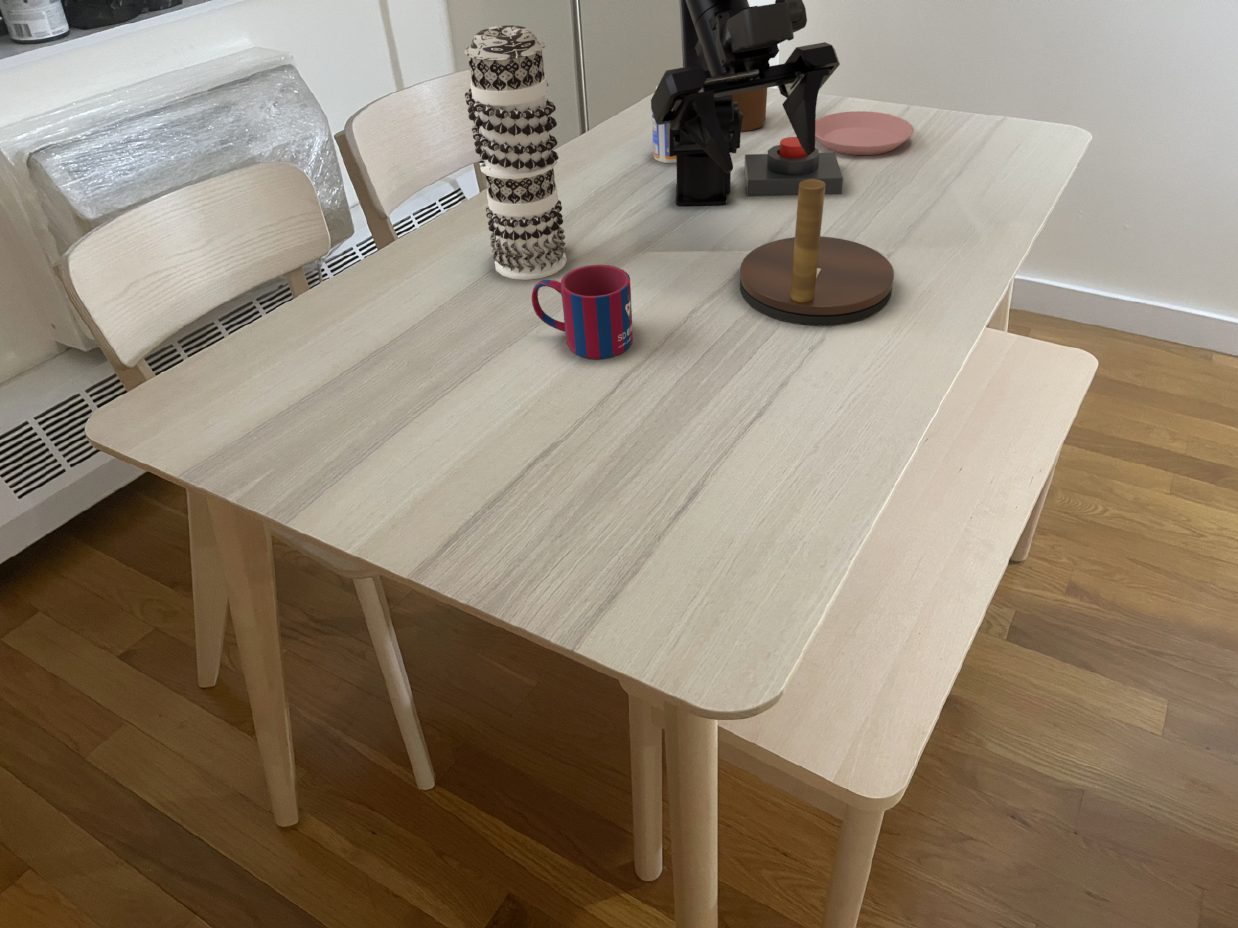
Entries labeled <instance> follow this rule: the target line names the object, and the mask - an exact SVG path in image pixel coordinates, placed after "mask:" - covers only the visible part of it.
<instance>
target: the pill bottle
mask: <svg viewBox="0 0 1238 928" xmlns="http://www.w3.org/2000/svg"><path fill="white" fill-rule="evenodd" d="M657 87H658V85H656V86H655V90H656V89H657ZM651 127H652V128H651V129H652V132H651V133H652V155H653V158H654V159H655V160H656V161H657V162H660V163H663V164H676V156H674V157H669V150H668V141H667V124H662V125H659V124H657V123H656V122H655V119H654V116H653V113H652V112H651Z"/></svg>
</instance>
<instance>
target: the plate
mask: <svg viewBox="0 0 1238 928" xmlns="http://www.w3.org/2000/svg"><path fill="white" fill-rule="evenodd" d="M914 132H915V129H914V126H913V125H912V123H910V122H909V121H908V120H906V119H904V118H902V117H899V116H897V115H893V114H890V113H883V112H879V111H868V110H867V111H863V110H862V111H860V110H858V111H855V110H854V111H841V112H835V113H831V114H827V115H825V116H821V117H820V118H818V119H816V124H815V139H817V140H818V141H819V142H820V143H821V144H822V145H823V146H824V147H825V148H827V149H828V150H831V151H832V152H836V153H840V154H844V155H850V156H872V155H873V156H874V155H881V154H885V153H888V152H891V151H893V150H895V149H897V148H898V147H899V146H901V145H902V144H903V143H905V142H907V140H909V139H910V138H911V137H912V136H913V135H914Z"/></svg>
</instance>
